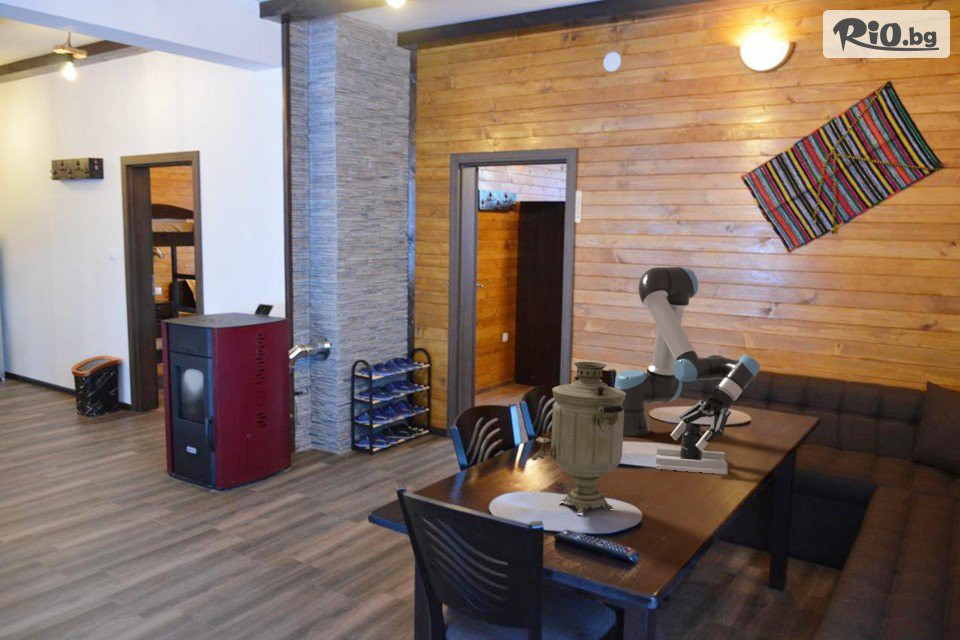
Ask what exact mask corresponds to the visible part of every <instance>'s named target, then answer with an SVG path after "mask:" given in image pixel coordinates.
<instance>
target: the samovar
mask: <svg viewBox="0 0 960 640" xmlns="http://www.w3.org/2000/svg"><path fill="white" fill-rule="evenodd" d="M573 365H574V366H575V367H576V375H577V376H574V379H575V380H574V381H572V382H571V383H569V384H561V385H557V386H554V387H553V388H551V389H552V394H553V395H552V396H553V398H554V403H553V404H552V414H551V415H552V417H551V437H550V438H551V439H550V438H548V437H545V436H542V437H538V438H536V439H535V441H536V442H539V443H541V446H540V449H539V451H538V452H536V453H535V454H534V455H533V456H532V458H531V461H537V460H538V458H539V459H542V460H543V459H545V457H546V456H550V459H551V460H553V461H554V463H555V465H556V466H558V468H560V469H561V470H562V471H564V473H566V474H568V475H570V476H572V477H573V478H572V482H573V484H575V485H576V486H577V487H575V488H573V489H572V490H571V491H570V492H568V493H567V495H566V496H565V497H564V498H563V499H561V500H562V501H564V502H565V503H567V504H569V505H571V506H574V507H575V508H576V509H577V512H578V513H584V514H585V512H586V511H587V509H589V508H593V509H596V508H600V507H601V506H603V507H604V508H607V509H608V510H610V509H614V507H613V505H611V504H609V503H608V501H607V500H606V498H605V496H604V495H605V494H603V493H602V492H601V491H600V490H598V489H596V488H595V487H596V486H598V485H599V484H600V477H603V476H606V475H608V474H609V473H611V471H614V470H615V469H617V467H618V466H619V465H620V463H621V460H622V457H623V443H624V439H623V438H624V435H623V423H624V407H622V405H621V404H623V401H624V400H625V395H626V393H625V392H623V391H621V390H619V389H616V388H615V387H612V386H608V384H607V383H605V382H604V381H601V378H602V377H603V370H604V368H607V366H608V364H606V363H603V362H596V361H576V362H574V363H573ZM549 442H550V451H549V450H548V451H547V450H546V449H545V444H546V443H549Z"/></svg>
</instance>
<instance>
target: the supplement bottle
mask: <svg viewBox="0 0 960 640" xmlns="http://www.w3.org/2000/svg"><path fill="white" fill-rule="evenodd" d="M701 432H702V425H701V424H698V423H694V422H691V423H687V424H686V429H685V430H684V432H683V433H682V434H681V441H680V442H681V444H680V449H681V454H680V458H681V459H691V460H701V459H702V451H703V450H702V451H700V450H699V449H698V448H697V446H696V444H697V443H698V442H699V440H700V439H701V438H702V437H703V435H704V434H702V433H701Z"/></svg>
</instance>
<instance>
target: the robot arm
mask: <svg viewBox="0 0 960 640" xmlns="http://www.w3.org/2000/svg"><path fill="white" fill-rule="evenodd" d="M698 290H699V281H698V277H697V276H696V274H695V272H694V271H693V269H690V268H689V267H683V266H682V267H681V266H671V267H670V266H667V267H661V266H657V267H652V268H649V269H648V270H646V271H645V272H644V273H643V274H642V276H641V277H640V279H639V283H638V295H639V298H640V301H641V303H642V305H643V307H645V308H647V309H648V310H649V313H650V314H651V316H652V318H653V320H654V322H655V324H656V326H657V328H656V335H655V341H654V347H653V355H652V360H651V361H652V362H651V364H648V365H647V368H646V371H644V370H639V369H638V370H637V369H636V370H635V369H634V370H633V369H631V370H625V371H621V372H619V373H617V375H615V379H614V380H615V383H614V388H616V389H619V390H621V391H623V392H625V393H626V395H625V400H624V401H623V404H621V405H622V407H624V423H623V437H624V436H627V437H639V436H640V437H641V436H646V435H649V434H650V424H649V421H648V418H647V415H646V404H647V405H648V404H657V403H659V404H660V403H668V402H672V401H674V400H676V399H678V398H679V396H680V394H681V392H682V390H683V389H682V388H683V382H693V381H694V382H695V381H707V380H718V379H719V380H720V381H719V382H718V384H717V385H716V386H715V387H716V388H714V389H713V390H712V391H711V392H710V394H709V395H708V401H706V402H705V401H704V400H703V399H700V400H699V401H698V402H696V403H695V404H694V405H693V406H691V407H690V408H688V409H687V410H686V411H684V412H683V413H682V414H680V415H679V416H678V418H679V419H680V422H679V423H678V424H677V425H676V427H675V429H673V431H672V433H670V436H671V437H672V439H673V440H675V441H677V440H678V439H679V438H680V436H682V434H683V432H685V431H686V424H687V423H694V422H695V421H697V420H699V419H701V418H710V428H709V430H708V429H707V430H706V432H705V433H704V434H702V435H703V437H702V438H701V439H700V440H699V442H698V443H697V444H696V446H697V448H698V449H699V450H700V451H704V449H705V448H706V447H707V445H708V444H709V443H710V442H711V441H712V440H713V439H715V437H717V436H720V437H721V436H723V435H724V431H725V428H726V425H727V422H728V419H729V417H730V415H731V414H732V412H731V410H730V408H731V407H732V406H733V404H734V402H735V401H736V400H737V399H738V398H739V396H740V395H741V394H742V393H743V391H745V389H746V388H747V387H748V386H749V384H750V383H751V382H752V381H753V379H754V378H755V377H756V376H757V375H758V373H759V372H760V370H761V365H760V363H759V362H758V361H757V360H756V359H755V358H754V357H752V356H750V355H747V354H744V355H743V354H742V355H741V356H740V357H738V359H731V358H728V357H725V356H723V355H719V354H718V355H716V354H710V355H709V356H707V357H699V355H698V354H697V352H696V351H695V348H694V347H693V345H692V343H691V341H690V339H689V337H688V335H687V334H686V333H687V332H685V330H684V328H683V326H682V323H683V322H682V321H683V316H684V309H685V308H687V306H689V304H690V299H692V298H694V297H695V296H696V295H697V293H698Z"/></svg>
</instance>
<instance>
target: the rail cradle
mask: <svg viewBox="0 0 960 640" xmlns="http://www.w3.org/2000/svg"><path fill="white" fill-rule="evenodd" d="M680 454H681V448H667V447H666V448H665V447H657V448H656V457H655V458H656V459H655V460H656V462H655V470H661V469H663V470H662V471H673V470H677V472H686V471H688V473H699V472H702V473H703V474H712V473H714V475H725V474H726V475H728V471H729V470H728V462H727V461H726V458H725V457H726V455H725V454H726V453H725V451H711V450H702V459H701V460H691V459H681V458H680ZM665 469H666V470H665ZM702 473H701V474H702Z"/></svg>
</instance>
